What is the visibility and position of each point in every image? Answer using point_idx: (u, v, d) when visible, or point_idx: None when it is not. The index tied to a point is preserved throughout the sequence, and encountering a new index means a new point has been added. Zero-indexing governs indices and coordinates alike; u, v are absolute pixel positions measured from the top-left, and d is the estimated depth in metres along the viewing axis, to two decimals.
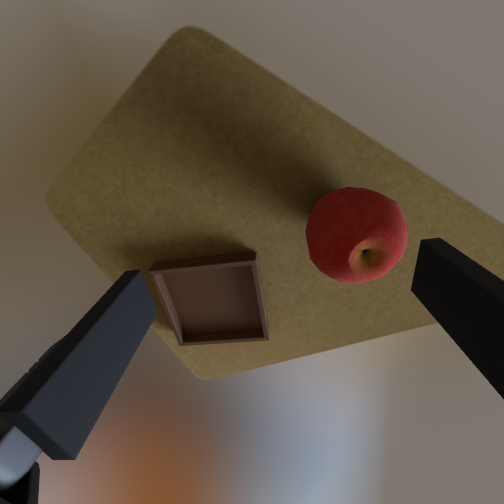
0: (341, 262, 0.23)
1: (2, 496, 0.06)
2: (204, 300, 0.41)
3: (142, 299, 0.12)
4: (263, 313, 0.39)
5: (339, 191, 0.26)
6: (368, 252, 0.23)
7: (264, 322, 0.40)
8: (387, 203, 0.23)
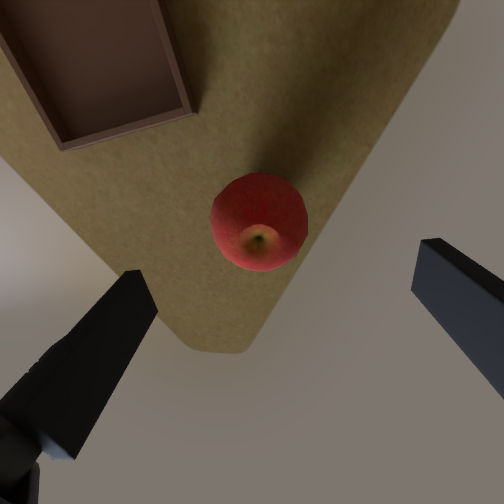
0: (248, 218, 0.20)
1: (2, 496, 0.06)
2: (86, 20, 0.24)
3: (142, 299, 0.12)
4: (107, 136, 0.27)
5: None
6: (259, 241, 0.22)
7: (91, 139, 0.27)
8: None
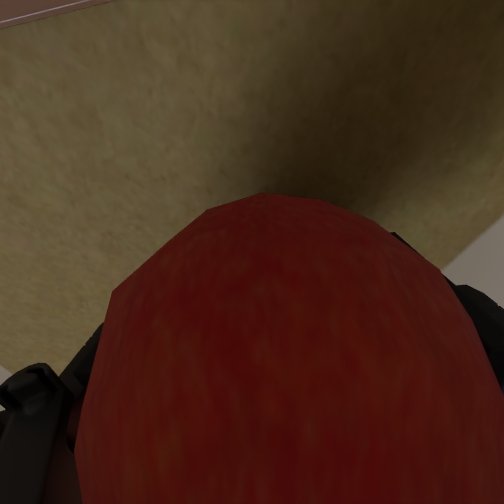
0: None
1: (73, 452, 0.07)
2: None
3: None
4: None
5: None
6: None
7: None
8: None
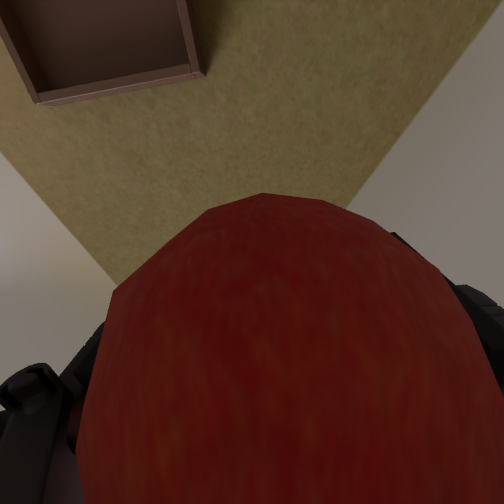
0: None
1: (73, 452, 0.07)
2: None
3: None
4: (93, 90, 0.22)
5: None
6: None
7: (73, 92, 0.23)
8: None
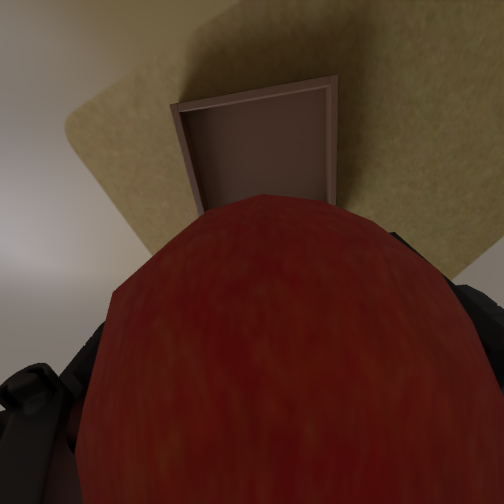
0: None
1: (74, 452, 0.07)
2: (261, 156, 0.28)
3: None
4: None
5: None
6: None
7: None
8: None
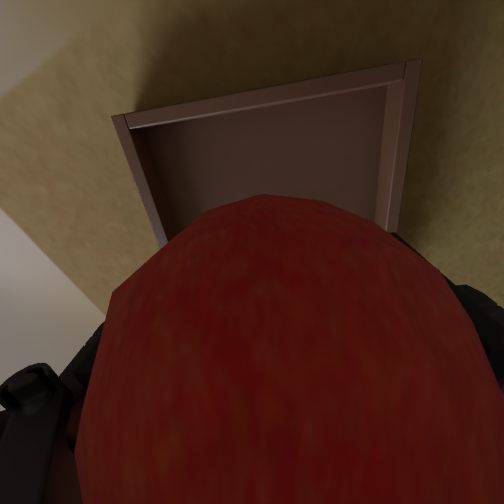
0: None
1: (73, 452, 0.07)
2: None
3: None
4: None
5: None
6: None
7: None
8: None
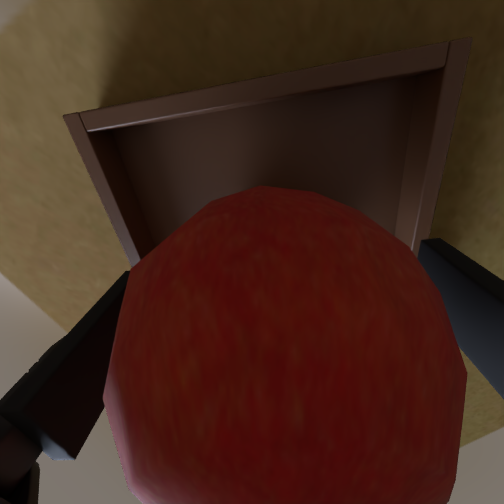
0: (252, 478, 0.03)
1: (2, 496, 0.06)
2: None
3: None
4: None
5: None
6: None
7: None
8: None
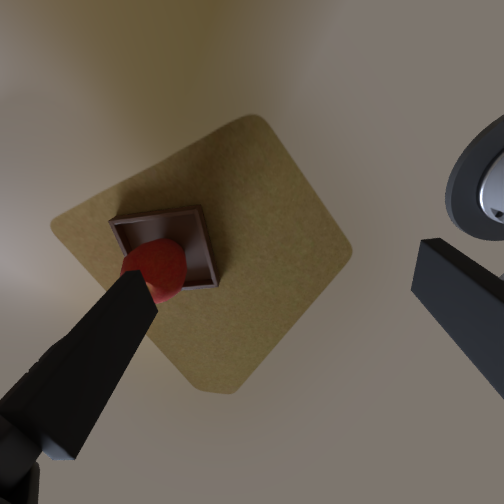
0: None
1: (2, 496, 0.06)
2: None
3: (142, 299, 0.12)
4: None
5: (182, 259, 0.41)
6: None
7: None
8: (178, 288, 0.40)
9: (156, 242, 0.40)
